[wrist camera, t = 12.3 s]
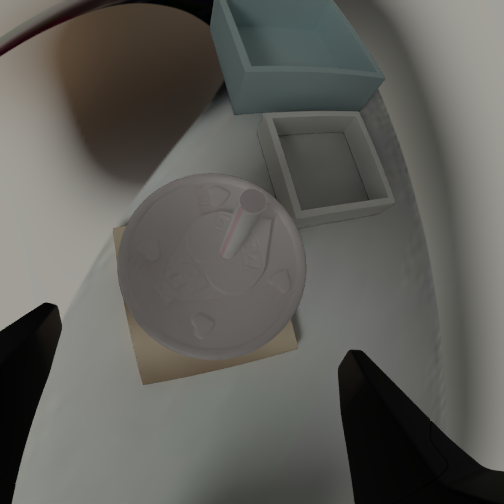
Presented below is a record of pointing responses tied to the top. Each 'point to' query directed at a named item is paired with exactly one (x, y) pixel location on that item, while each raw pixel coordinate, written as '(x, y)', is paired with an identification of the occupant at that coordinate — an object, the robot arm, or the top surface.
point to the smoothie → (211, 266)
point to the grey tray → (361, 152)
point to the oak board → (178, 366)
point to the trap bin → (291, 56)
